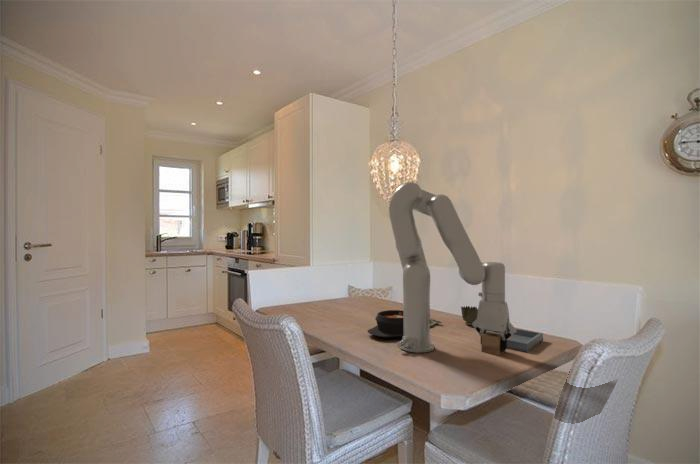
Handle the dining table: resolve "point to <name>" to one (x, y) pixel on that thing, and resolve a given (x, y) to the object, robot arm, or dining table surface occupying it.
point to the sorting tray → (523, 340)
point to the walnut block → (491, 343)
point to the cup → (469, 314)
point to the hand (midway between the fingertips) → (493, 348)
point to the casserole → (388, 324)
